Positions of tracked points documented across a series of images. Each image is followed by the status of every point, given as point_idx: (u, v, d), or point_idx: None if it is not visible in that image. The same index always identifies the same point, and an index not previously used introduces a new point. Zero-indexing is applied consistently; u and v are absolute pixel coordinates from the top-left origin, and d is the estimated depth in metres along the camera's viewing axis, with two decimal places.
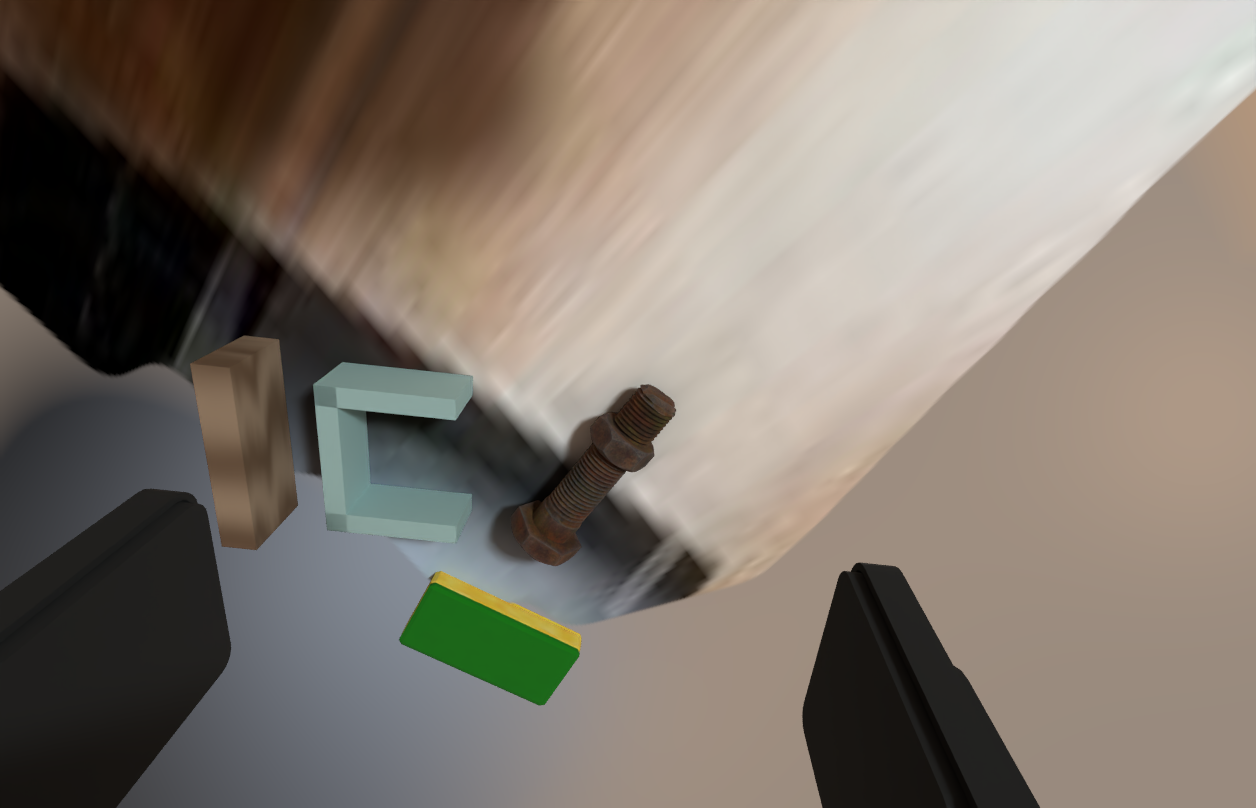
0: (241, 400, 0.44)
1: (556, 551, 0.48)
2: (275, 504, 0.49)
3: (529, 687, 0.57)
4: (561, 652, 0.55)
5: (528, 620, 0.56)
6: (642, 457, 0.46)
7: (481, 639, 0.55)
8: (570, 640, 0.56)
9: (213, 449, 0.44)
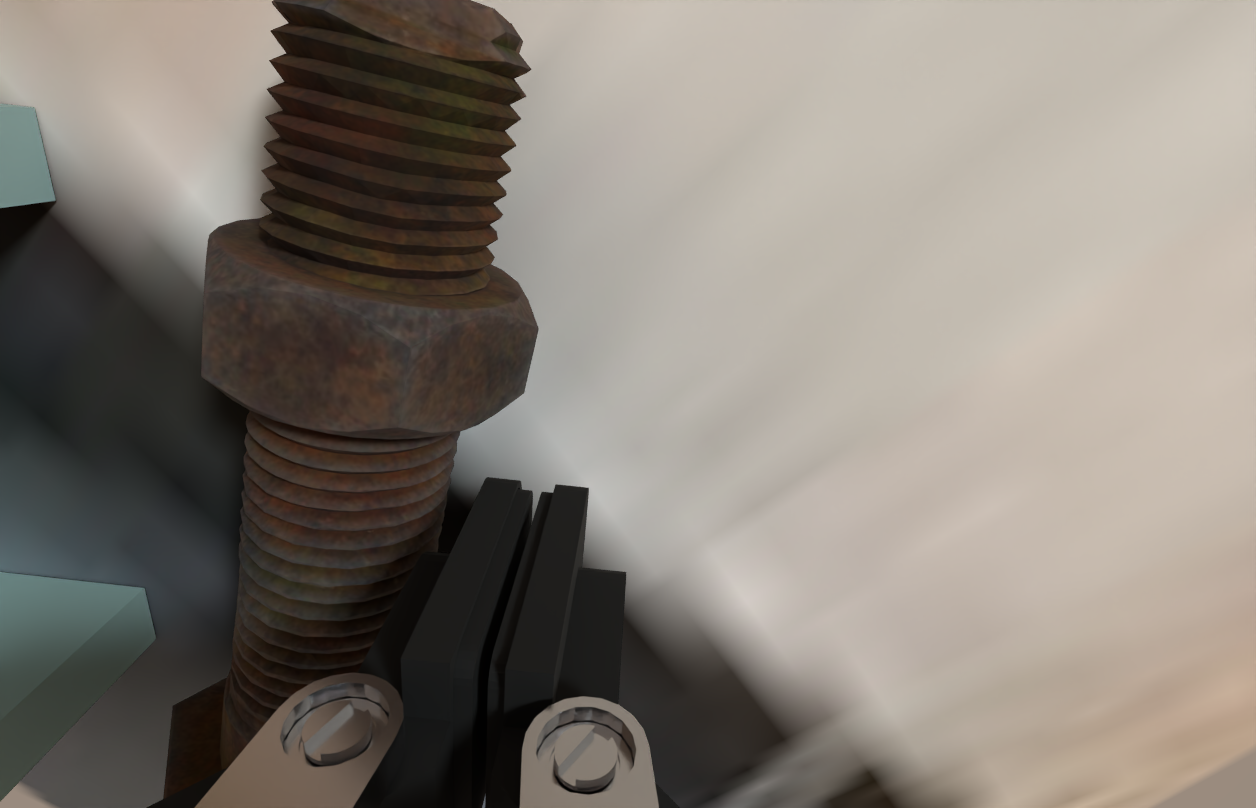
0: None
1: None
2: None
3: None
4: None
5: None
6: (420, 336, 0.08)
7: None
8: None
9: None
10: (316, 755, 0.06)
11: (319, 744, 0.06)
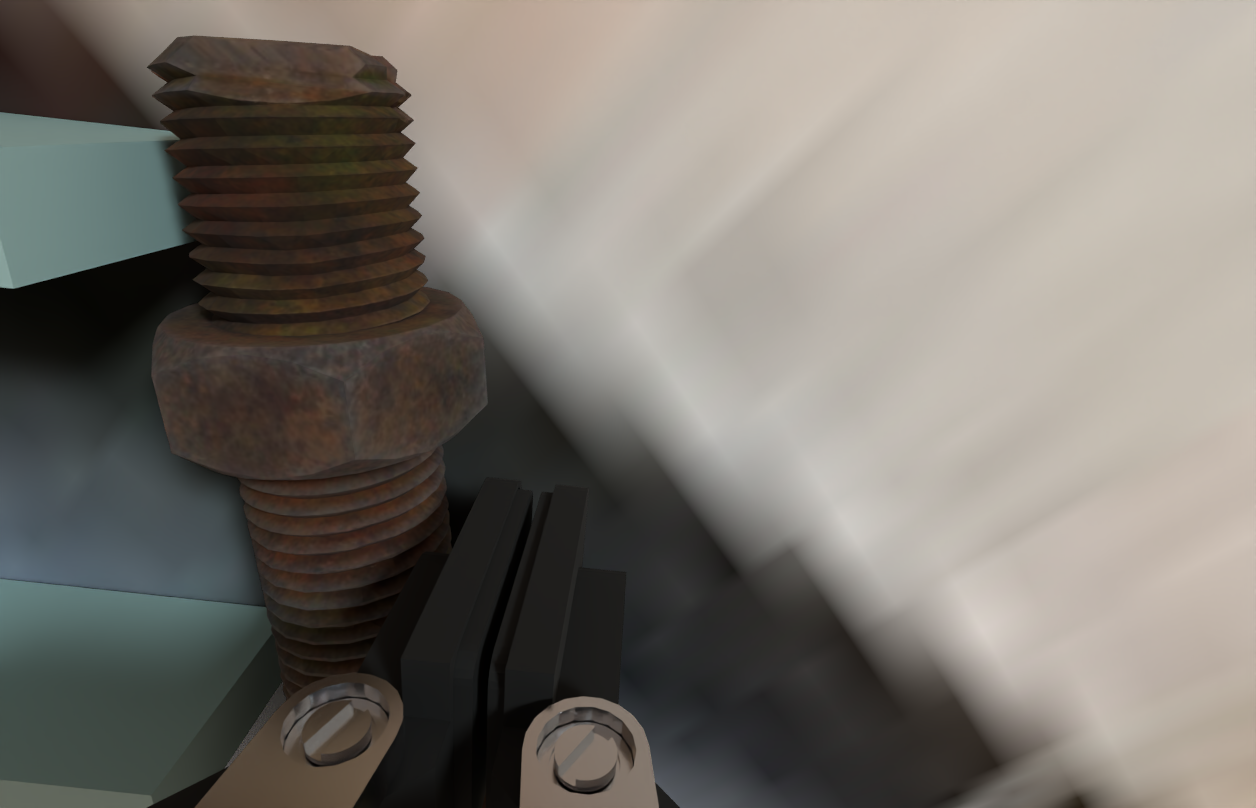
0: None
1: None
2: None
3: None
4: None
5: None
6: (351, 368, 0.08)
7: None
8: None
9: None
10: (316, 755, 0.06)
11: (319, 744, 0.06)
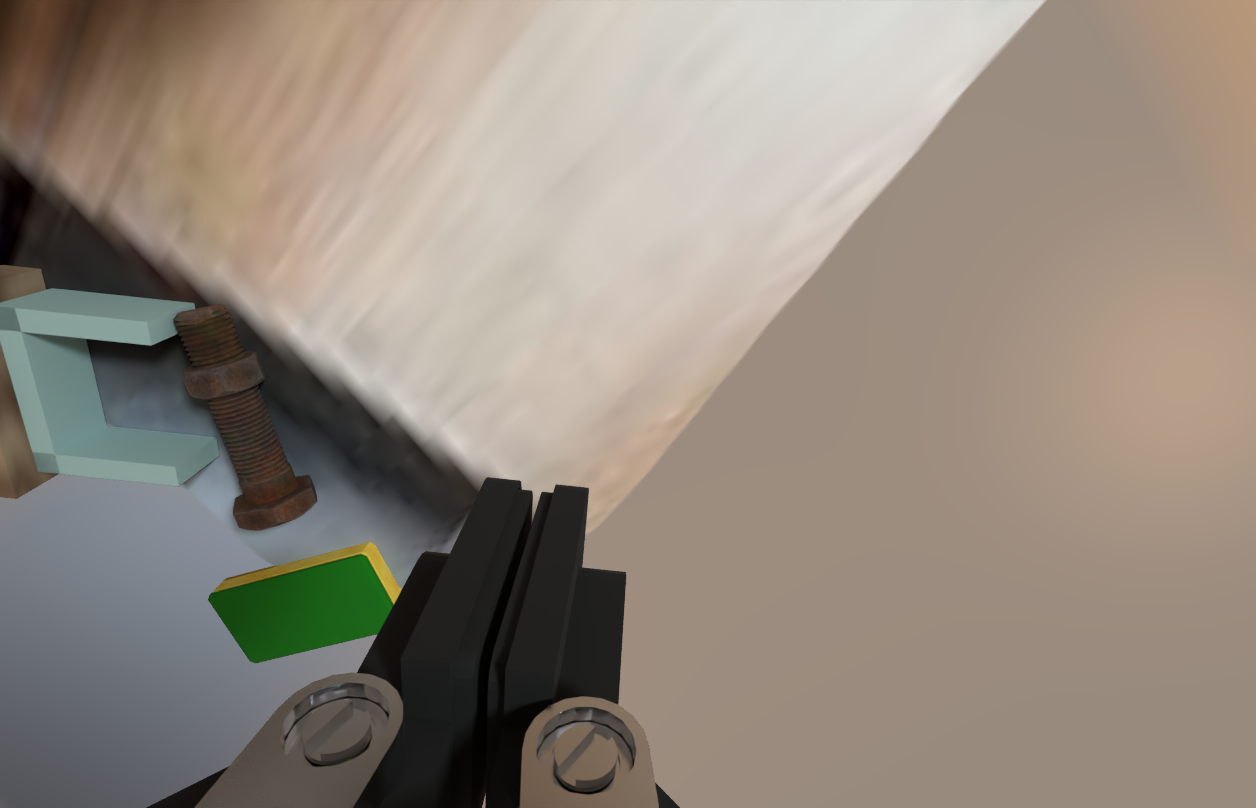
0: None
1: (265, 509, 0.45)
2: None
3: (371, 619, 0.52)
4: (348, 568, 0.50)
5: (308, 563, 0.51)
6: (220, 371, 0.42)
7: (289, 610, 0.52)
8: (355, 551, 0.50)
9: None
10: (316, 755, 0.06)
11: (319, 744, 0.06)
